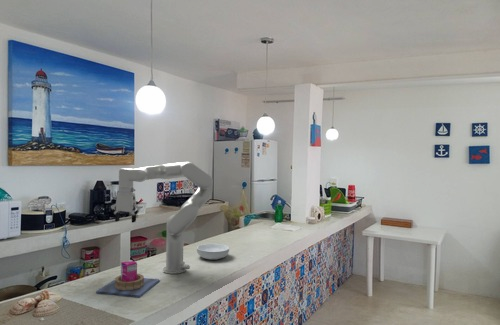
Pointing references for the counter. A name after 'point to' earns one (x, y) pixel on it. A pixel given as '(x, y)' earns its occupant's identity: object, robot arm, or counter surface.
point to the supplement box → (128, 271)
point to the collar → (128, 287)
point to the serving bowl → (212, 251)
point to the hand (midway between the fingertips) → (125, 221)
